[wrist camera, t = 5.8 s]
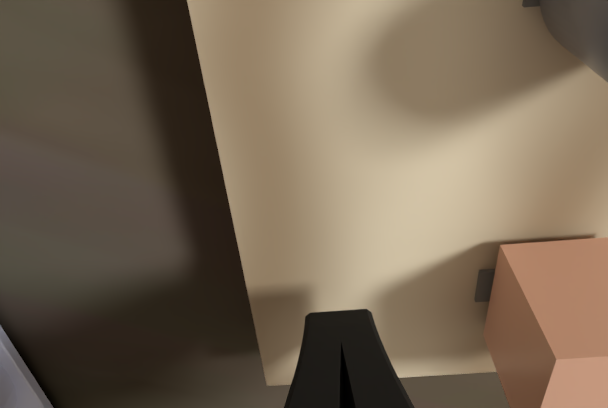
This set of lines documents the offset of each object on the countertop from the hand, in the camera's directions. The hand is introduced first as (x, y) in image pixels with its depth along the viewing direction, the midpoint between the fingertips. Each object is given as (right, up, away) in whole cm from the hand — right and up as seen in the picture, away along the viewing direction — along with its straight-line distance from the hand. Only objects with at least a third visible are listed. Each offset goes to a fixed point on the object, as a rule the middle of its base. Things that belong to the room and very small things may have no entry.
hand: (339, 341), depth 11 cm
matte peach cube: (+5, +1, +1) cm, 5 cm away
